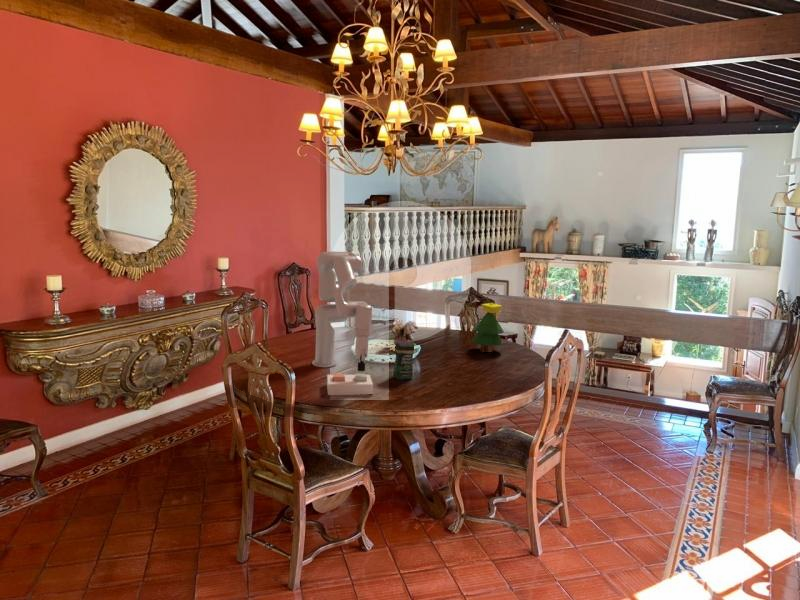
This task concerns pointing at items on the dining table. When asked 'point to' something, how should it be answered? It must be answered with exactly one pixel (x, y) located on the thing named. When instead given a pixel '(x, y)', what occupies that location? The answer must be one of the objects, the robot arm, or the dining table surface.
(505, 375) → the dining table surface
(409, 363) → the coffee jar
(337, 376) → the terracotta button
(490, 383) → the dining table surface
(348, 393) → the button panel
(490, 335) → the decorative tree
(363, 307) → the robot arm
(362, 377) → the sage button
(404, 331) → the cherub figurine
